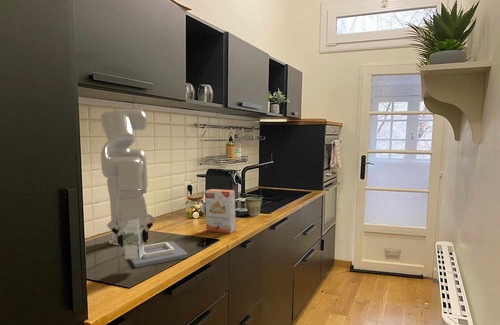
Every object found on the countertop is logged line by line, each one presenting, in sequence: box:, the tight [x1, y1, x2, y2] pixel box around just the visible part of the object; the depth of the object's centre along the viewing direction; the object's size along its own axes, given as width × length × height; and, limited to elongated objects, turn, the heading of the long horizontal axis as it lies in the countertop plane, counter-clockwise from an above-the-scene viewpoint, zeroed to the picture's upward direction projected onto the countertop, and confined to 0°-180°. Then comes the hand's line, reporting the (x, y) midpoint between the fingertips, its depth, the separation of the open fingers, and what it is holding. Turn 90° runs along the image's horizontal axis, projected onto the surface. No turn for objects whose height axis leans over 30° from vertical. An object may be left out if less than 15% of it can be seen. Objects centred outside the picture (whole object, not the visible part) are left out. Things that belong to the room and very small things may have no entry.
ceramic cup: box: [245, 196, 263, 217], centre depth 209 cm, size 13×10×10 cm
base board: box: [130, 241, 189, 269], centre depth 137 cm, size 20×20×3 cm
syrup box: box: [122, 218, 144, 261], centre depth 120 cm, size 6×6×14 cm
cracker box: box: [204, 188, 237, 235], centre depth 171 cm, size 14×6×21 cm, turn 65°
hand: (133, 243), depth 120 cm, fingers closed on syrup box, 7 cm apart
